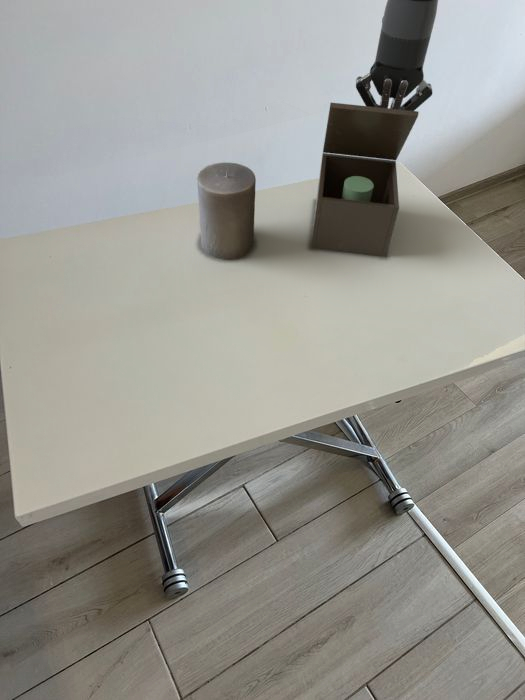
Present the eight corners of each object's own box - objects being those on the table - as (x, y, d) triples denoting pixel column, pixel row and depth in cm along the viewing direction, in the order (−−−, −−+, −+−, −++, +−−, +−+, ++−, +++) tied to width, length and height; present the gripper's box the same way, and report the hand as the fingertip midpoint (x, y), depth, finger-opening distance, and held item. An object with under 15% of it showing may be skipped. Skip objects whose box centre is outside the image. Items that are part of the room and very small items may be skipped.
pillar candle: (264, 245, 97) (269, 170, 86) (226, 269, 92) (225, 193, 81) (227, 222, 101) (227, 148, 90) (188, 244, 96) (183, 168, 85)
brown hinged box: (385, 259, 96) (399, 208, 88) (310, 250, 97) (317, 198, 89) (383, 210, 106) (395, 160, 98) (315, 203, 107) (322, 152, 99)
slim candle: (367, 223, 102) (377, 181, 95) (358, 237, 99) (368, 194, 92) (342, 215, 103) (350, 173, 96) (332, 228, 100) (340, 186, 93)
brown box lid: (418, 116, 81) (418, 111, 81) (329, 107, 82) (330, 102, 82) (396, 160, 98) (396, 156, 98) (322, 152, 98) (323, 148, 99)
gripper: (362, 32, 78) (343, 144, 91) (453, 41, 77) (421, 153, 90) (363, 16, 83) (345, 124, 96) (448, 24, 82) (419, 132, 95)
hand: (382, 138), depth 93 cm, fingers closed
